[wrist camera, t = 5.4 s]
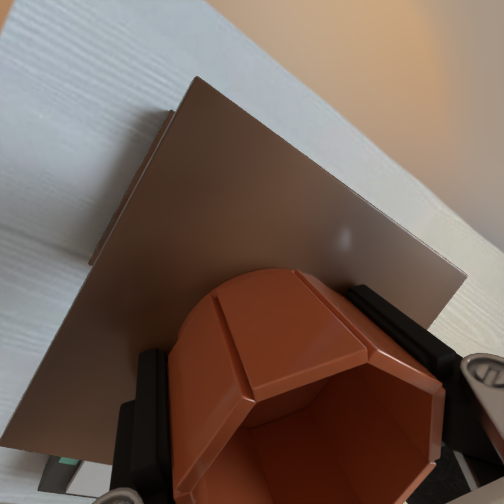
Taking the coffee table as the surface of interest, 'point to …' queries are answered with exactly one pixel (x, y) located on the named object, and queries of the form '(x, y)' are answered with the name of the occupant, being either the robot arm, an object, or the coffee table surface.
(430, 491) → the black orb ornament
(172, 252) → the stand
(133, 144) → the coffee table surface
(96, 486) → the scale
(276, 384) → the bowl
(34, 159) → the coffee table surface
